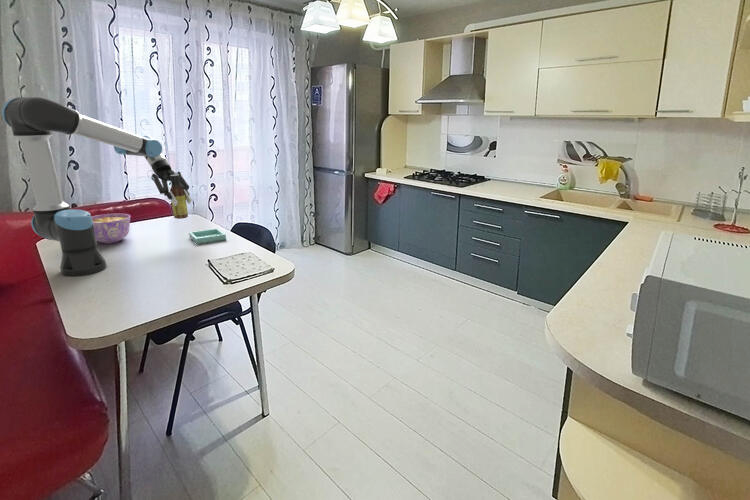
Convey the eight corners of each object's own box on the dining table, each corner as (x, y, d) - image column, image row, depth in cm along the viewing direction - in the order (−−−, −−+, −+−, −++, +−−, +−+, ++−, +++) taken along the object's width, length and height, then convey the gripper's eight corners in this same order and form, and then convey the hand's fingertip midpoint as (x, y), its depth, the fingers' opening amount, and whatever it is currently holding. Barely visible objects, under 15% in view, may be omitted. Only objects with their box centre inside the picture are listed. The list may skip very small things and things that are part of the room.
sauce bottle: (190, 216, 202) (186, 174, 196) (183, 219, 196) (178, 176, 190) (177, 216, 202) (172, 173, 196) (170, 218, 196) (165, 175, 190)
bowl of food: (119, 247, 197) (114, 223, 194) (76, 247, 198) (71, 222, 194) (142, 235, 216) (138, 213, 213) (103, 235, 217) (99, 213, 213)
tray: (226, 240, 210) (225, 234, 209) (196, 244, 202) (195, 238, 201) (218, 233, 221) (217, 228, 220) (189, 238, 213) (189, 232, 212)
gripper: (176, 168, 209) (199, 204, 204) (136, 171, 194) (160, 211, 189) (180, 157, 204) (204, 195, 200) (140, 160, 189) (165, 200, 185)
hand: (183, 202), depth 195 cm, fingers closed on sauce bottle, 6 cm apart
